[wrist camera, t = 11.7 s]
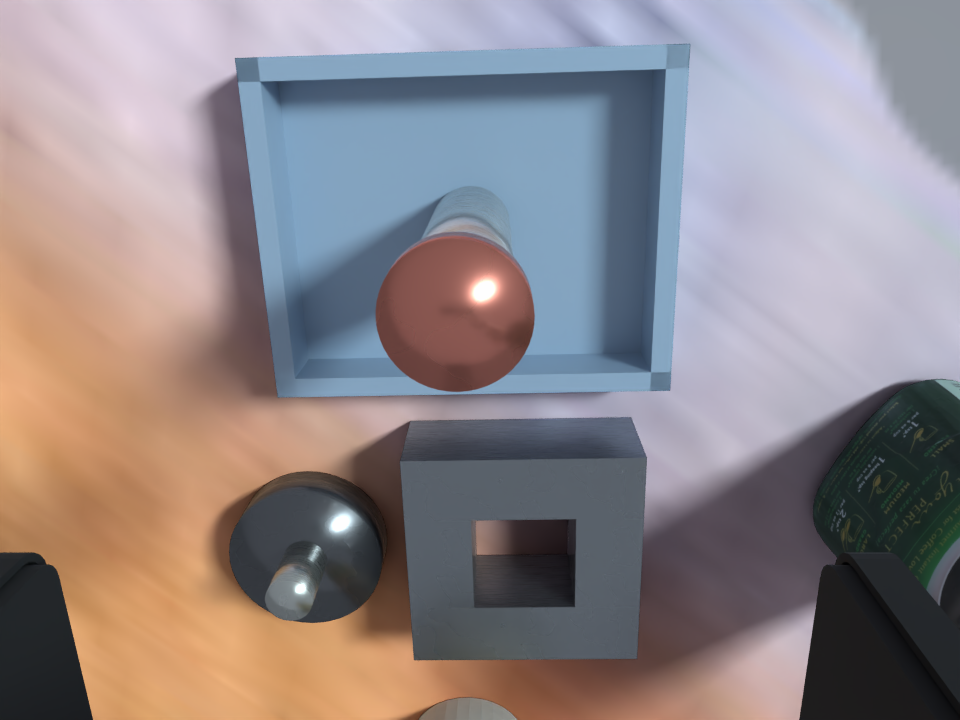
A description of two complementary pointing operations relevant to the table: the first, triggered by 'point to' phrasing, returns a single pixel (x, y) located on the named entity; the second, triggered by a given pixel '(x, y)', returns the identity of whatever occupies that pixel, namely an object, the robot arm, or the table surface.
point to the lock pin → (458, 297)
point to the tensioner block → (524, 578)
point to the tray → (470, 162)
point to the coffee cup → (467, 710)
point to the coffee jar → (902, 489)
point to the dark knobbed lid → (309, 547)
